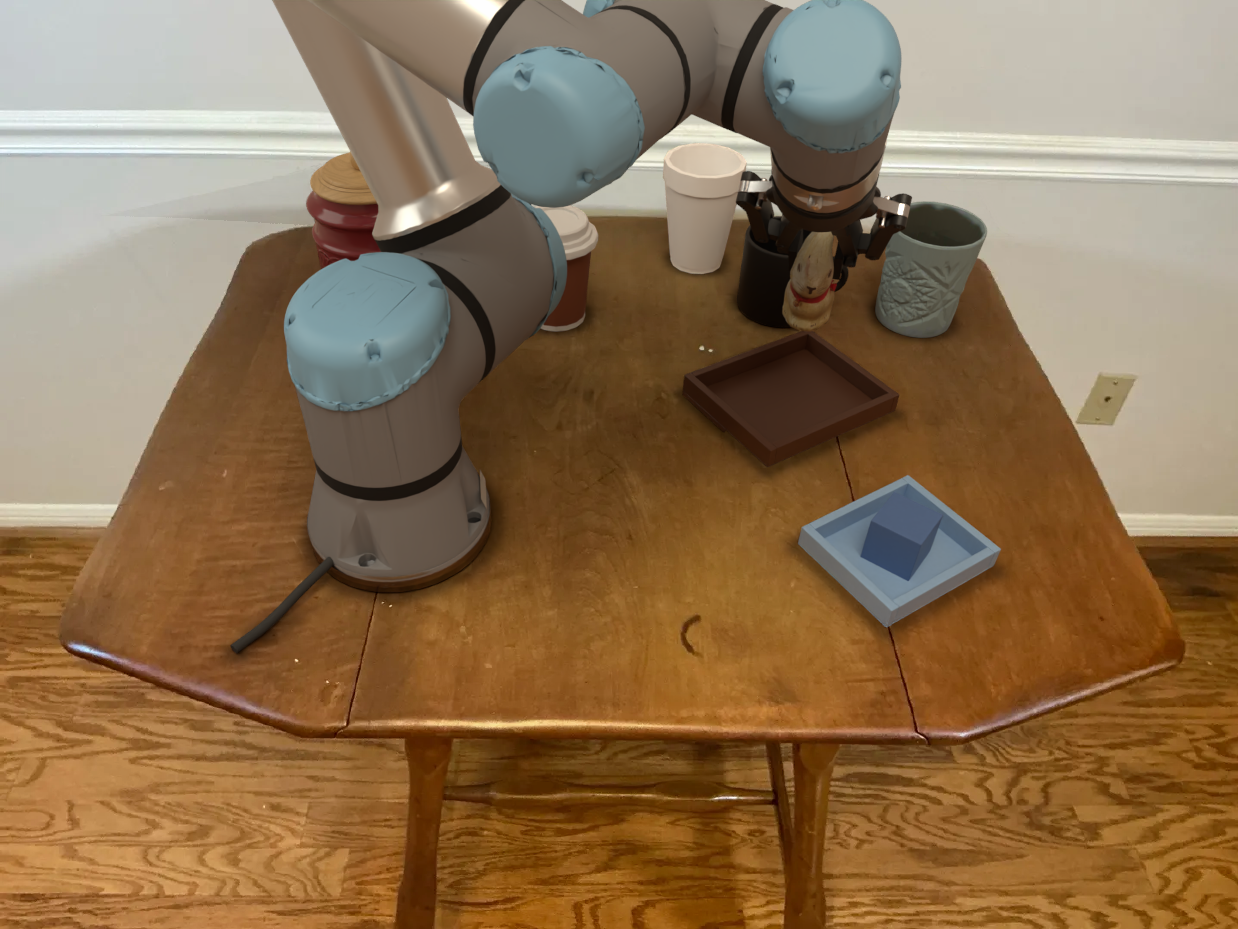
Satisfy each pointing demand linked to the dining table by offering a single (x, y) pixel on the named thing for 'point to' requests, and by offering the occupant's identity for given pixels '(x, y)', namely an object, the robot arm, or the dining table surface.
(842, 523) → the blue tray
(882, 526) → the slate-blue block
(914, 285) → the drinking glass
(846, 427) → the brown tray
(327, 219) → the kitchen canister
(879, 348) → the dining table surface
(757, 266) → the mug
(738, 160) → the foam cup
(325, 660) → the dining table surface
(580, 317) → the coffee cup
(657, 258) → the dining table surface
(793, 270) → the chocolate bunny
